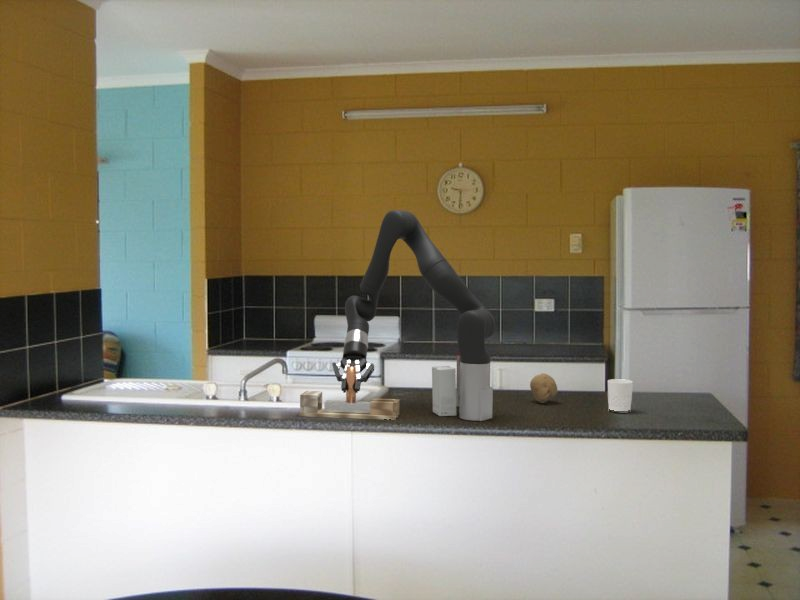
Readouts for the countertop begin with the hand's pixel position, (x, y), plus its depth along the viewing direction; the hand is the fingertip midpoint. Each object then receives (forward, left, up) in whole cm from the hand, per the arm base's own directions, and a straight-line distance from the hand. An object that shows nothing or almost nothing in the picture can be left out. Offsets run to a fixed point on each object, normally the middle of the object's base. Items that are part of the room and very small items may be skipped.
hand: (350, 391), depth 248 cm
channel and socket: (+2, -1, -8) cm, 8 cm away
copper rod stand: (+1, -2, -7) cm, 7 cm away
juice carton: (-17, -39, -8) cm, 44 cm away
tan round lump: (-32, -61, -8) cm, 70 cm away
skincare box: (-18, -23, -8) cm, 31 cm away
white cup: (-58, -64, -8) cm, 87 cm away
